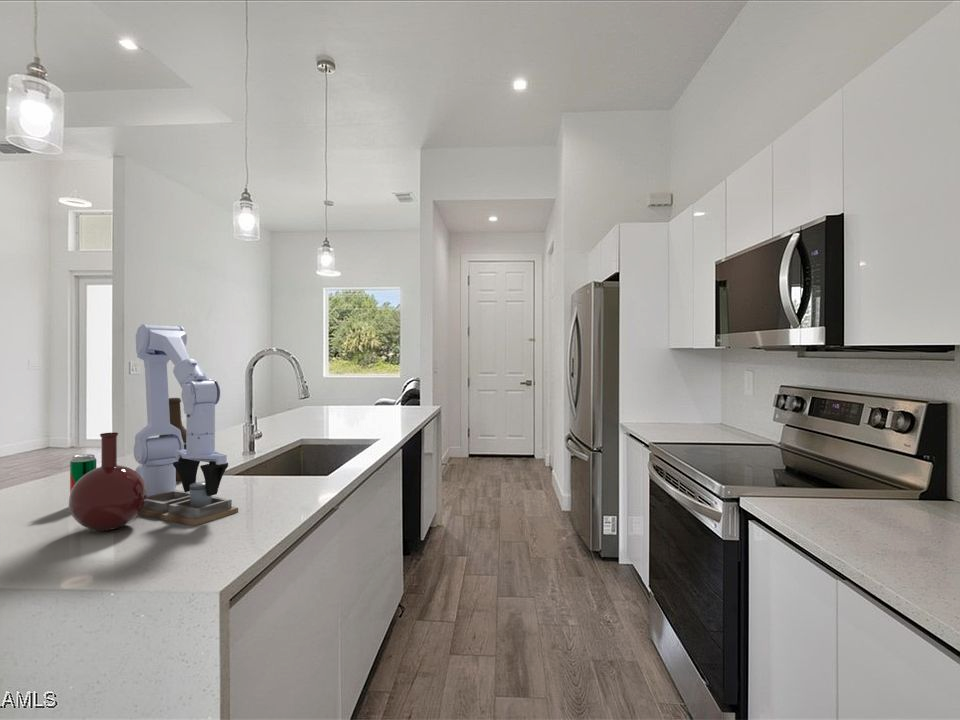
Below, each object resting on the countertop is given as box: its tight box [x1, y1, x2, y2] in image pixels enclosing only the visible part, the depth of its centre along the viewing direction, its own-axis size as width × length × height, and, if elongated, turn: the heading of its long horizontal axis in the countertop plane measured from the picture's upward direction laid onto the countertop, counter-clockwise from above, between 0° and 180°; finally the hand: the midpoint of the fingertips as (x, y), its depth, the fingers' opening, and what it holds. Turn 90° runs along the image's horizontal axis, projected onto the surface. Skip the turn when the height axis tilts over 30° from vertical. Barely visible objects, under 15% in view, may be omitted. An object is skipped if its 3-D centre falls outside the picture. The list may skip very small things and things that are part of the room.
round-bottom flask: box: [68, 432, 147, 532], centre depth 106 cm, size 13×13×20 cm
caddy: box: [138, 489, 239, 527], centre depth 118 cm, size 22×11×3 cm, turn 65°
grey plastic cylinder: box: [189, 480, 213, 508], centre depth 115 cm, size 4×4×6 cm
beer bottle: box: [158, 397, 186, 483], centre depth 148 cm, size 8×8×24 cm
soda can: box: [69, 453, 98, 494], centre depth 123 cm, size 5×5×12 cm
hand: (200, 492), depth 115 cm, fingers open, 7 cm apart
